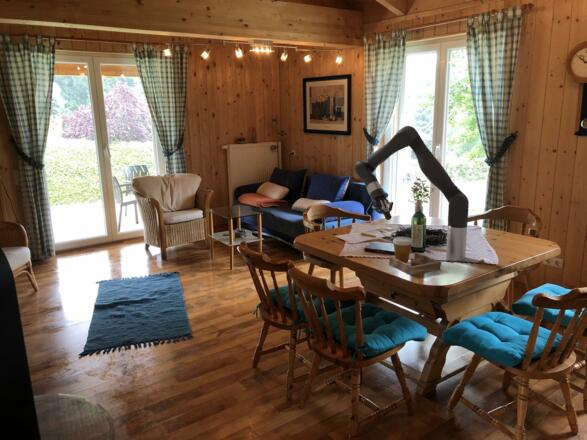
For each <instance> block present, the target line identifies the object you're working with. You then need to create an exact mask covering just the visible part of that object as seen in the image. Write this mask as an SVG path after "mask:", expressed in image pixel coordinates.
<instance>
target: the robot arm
mask: <svg viewBox="0 0 587 440" xmlns="http://www.w3.org/2000/svg"><path fill="white" fill-rule="evenodd" d="M409 147H410V149H411V150H412V152H413V153H414V155H415V156H416V159H417V163H418V166H419V169H420V170H421V172H422V173H423V175H424V176H425V178H426V179H427V180H428V181H429V182H430V183H431V184H432V185H433V186H434V187H436V188H437V189H438V190H439V191H440V192H441V193H442V195H443V196H444V197H445V199H446V201H447V202H448V210H447V213H448V215H447V235H446V251H445V252H446V253H445V258H446V260H449V261H452V262H462V261H465V260H466V253H467V251H466V250H467V235H468V219H469V209H470V208H469V206H470V205H469V199H468V196H467V195H466V194H464V192H463V191H462V190H461V189H460V188H459V187H458V186H457V185H456V184H455V183H454V182H453V179H452V178H451V176H450V175H449V174H448V172H447V171H446V169H445V168H444V166H443V165H442V164H441V163H440V161H439V159H437V157H435V155H434V154H433V152H432V151H431V149H429V148H428V146H427V145H426V143H425V142H424V139H422V137H421V136H420V134H419V132H418V131H417V129H415V127H413V126H412V125H406V126H403V127H402V128H401V129H399V130H398V131H397V132H396V133H395V135H393V137H392V138H390V140H389V141H388V142H386V144H384V145H383V146H381V147H380V148H378V149H376V150H375V151H374V152H372V153H371V154H370V155H369V156H368V157H367V161H364V160H363V161H362V160H359V161H357V162H356V163H355V165H354V171H355V173H356V175H357V176H358V177H359V178H360V180H362V182H363V183H364V186H365V187H366V190H367V193H368V195H369V197H370V199H371V202H373V204H372V206H371V209H372V210H374V211H375V212H376V213H378V214H379V215H383V216H384V218H385V220H386V221H391V219H392V217H393V216H392V214H391V212H392V210H393V207H394V202H393V201H391V202H390V201H389V200H388V198H387V195H386V193H385V191H384V189H383V187H382V185H381V184H380V183H379V180H378V178H377V176H376V175H375V174H373V173H374V172H375V170H376V169H377V168H378V166H380V165H381V164H383V163H384V162H385V161H386V160H388V159H389V158H390V157H391V156H393V155H394V154H395V153H397V152H399V151H401V150H403V149H405V148H409Z"/></svg>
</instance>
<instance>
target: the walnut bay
mask: <svg viewBox="0 0 587 440" xmlns="http://www.w3.org/2000/svg"><path fill="white" fill-rule="evenodd" d="M413 256H414V258H413V260H414V261H415V262H418V263H420V264H417V265H411V264H409V263H404V262H402V261H400V260H398V259H396V258H395V257H393V256H389V259H388V266H390V267H393V268H394V269H397V270H399V271H401V272H403V273H405V274H407V275H409V276H411V277H414V276H418V275H424V274H428V273H432V272H438V271H441V269H442V268H441V267H442V261H439V260H438V259H434V258H433V257H430V256H428V255H425V254H423V253H420V252H417V251H415V252H414V255H413Z"/></svg>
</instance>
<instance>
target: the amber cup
mask: <svg viewBox="0 0 587 440" xmlns="http://www.w3.org/2000/svg"><path fill="white" fill-rule="evenodd" d="M392 243H393V248H394V250H393V251H394V258H396V259H398V260H400V261H402V262H404V263H407V264H409V261H410V260H409V259H410V253H411V247H412V244H413V241H412V238H411V237H409V236H395V237H394V238H393V240H392Z"/></svg>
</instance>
